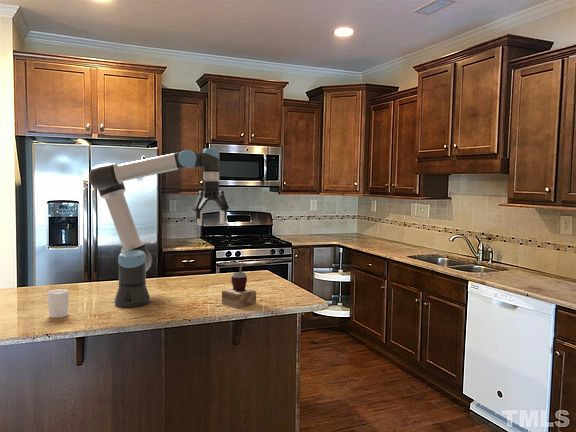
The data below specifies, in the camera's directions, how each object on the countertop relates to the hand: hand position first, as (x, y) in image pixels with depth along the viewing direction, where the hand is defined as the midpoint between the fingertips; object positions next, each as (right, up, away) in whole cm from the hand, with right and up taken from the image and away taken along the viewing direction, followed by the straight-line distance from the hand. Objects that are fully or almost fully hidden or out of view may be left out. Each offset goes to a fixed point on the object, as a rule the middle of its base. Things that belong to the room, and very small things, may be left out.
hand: (211, 224), depth 225 cm
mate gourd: (+15, -30, -13) cm, 36 cm away
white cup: (-56, -37, -36) cm, 76 cm away
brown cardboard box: (+15, -36, -13) cm, 41 cm away
